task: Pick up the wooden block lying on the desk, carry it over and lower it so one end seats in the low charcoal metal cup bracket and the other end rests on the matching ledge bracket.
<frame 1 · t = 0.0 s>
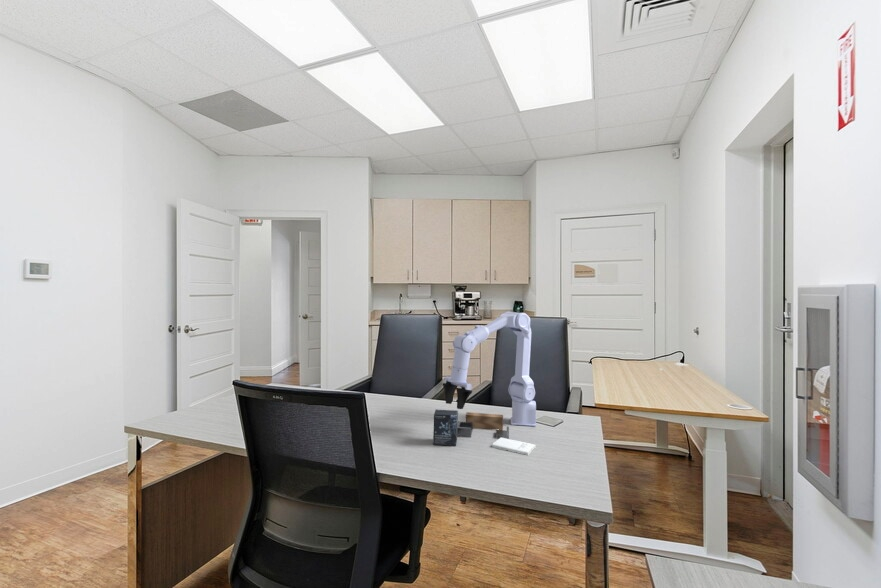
hand: (454, 406, 148), 11 cm above the table, tool pointing down, fingers open, 7 cm apart
external hard drive: (513, 449, 138), on the table
wooden block: (484, 427, 157), on the table
ledge bracket: (502, 435, 148), on the table
box: (445, 443, 141), on the table
cup bracket: (464, 433, 151), on the table
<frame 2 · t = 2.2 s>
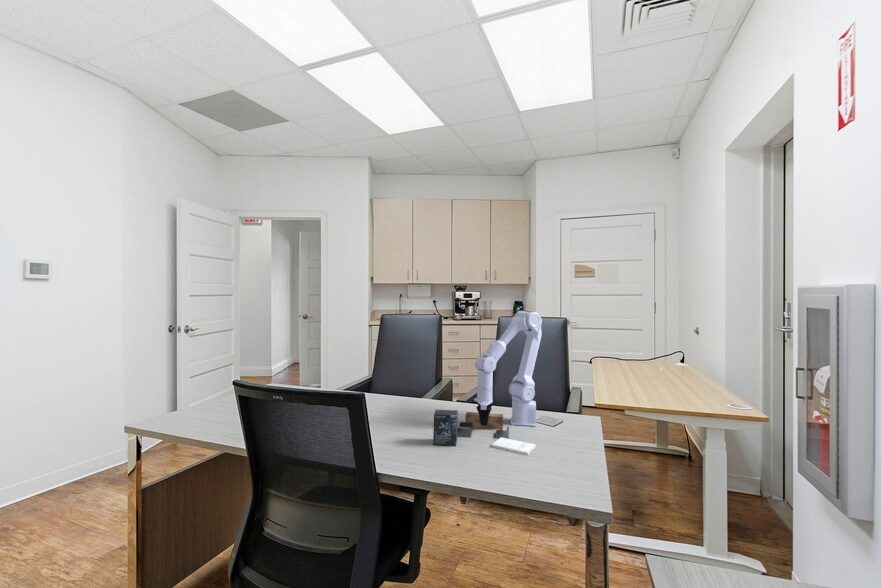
hand: (484, 423, 157), 1 cm above the table, tool pointing down, fingers closed on wooden block, 3 cm apart
wooden block: (484, 427, 157), on the table, touching gripper
everything else where it was.
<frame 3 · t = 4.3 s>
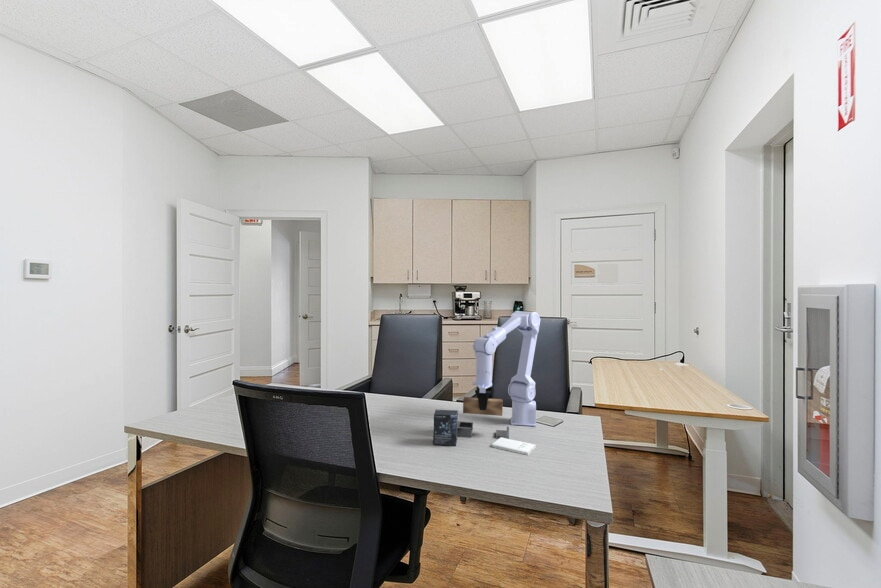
hand: (483, 408, 150), 9 cm above the table, tool pointing down, fingers closed on wooden block, 3 cm apart
wooden block: (482, 413, 150), point 8 cm above the table, touching gripper
everything else where it was.
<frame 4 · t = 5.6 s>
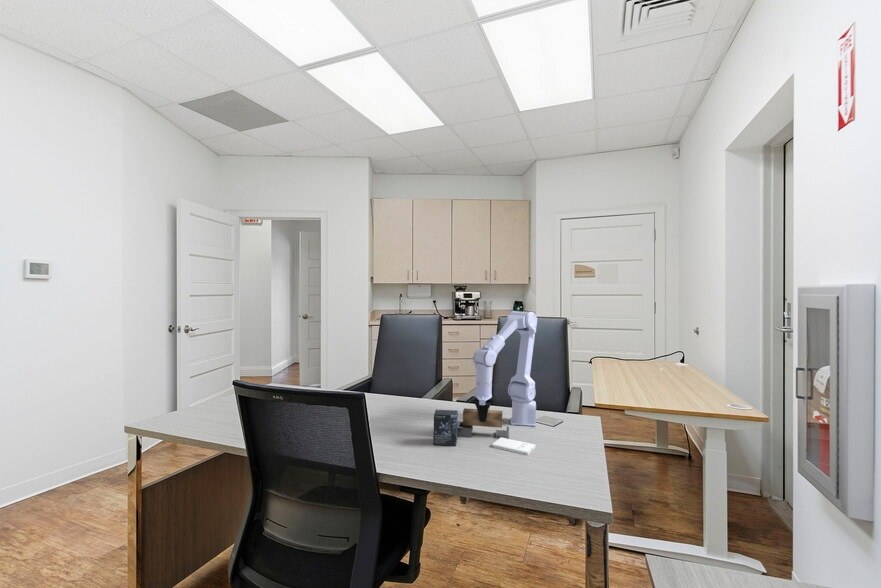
hand: (483, 419, 149), 5 cm above the table, tool pointing down, fingers closed on wooden block, 3 cm apart
wooden block: (482, 424, 150), point 4 cm above the table, touching gripper
everything else where it was.
when the fingers open (3 cm above the table, at t = 6.5 s): wooden block stays where it is, resting on cup bracket, ledge bracket.
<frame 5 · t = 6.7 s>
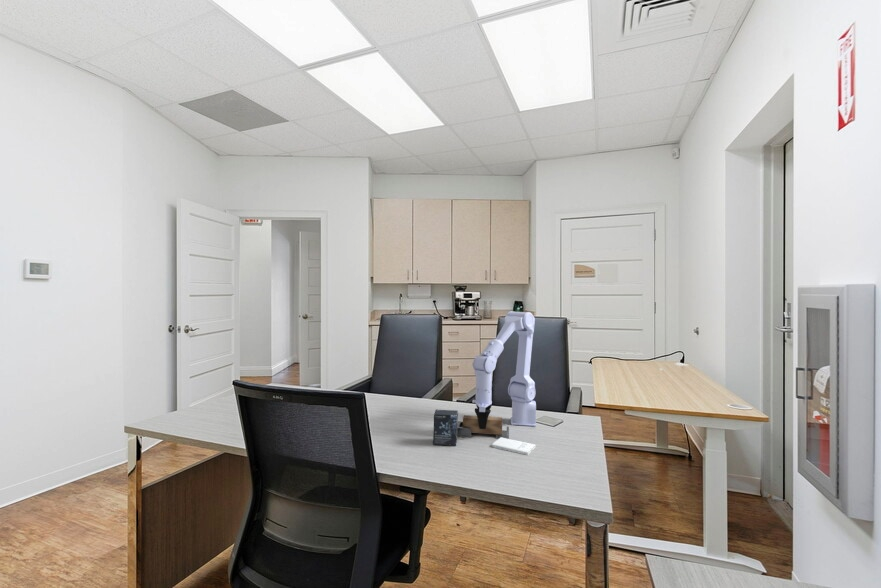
hand: (483, 426, 150), 3 cm above the table, tool pointing down, fingers open, 5 cm apart
wooden block: (482, 431, 150), point 1 cm above the table, touching cup bracket, ledge bracket
everything else where it was.
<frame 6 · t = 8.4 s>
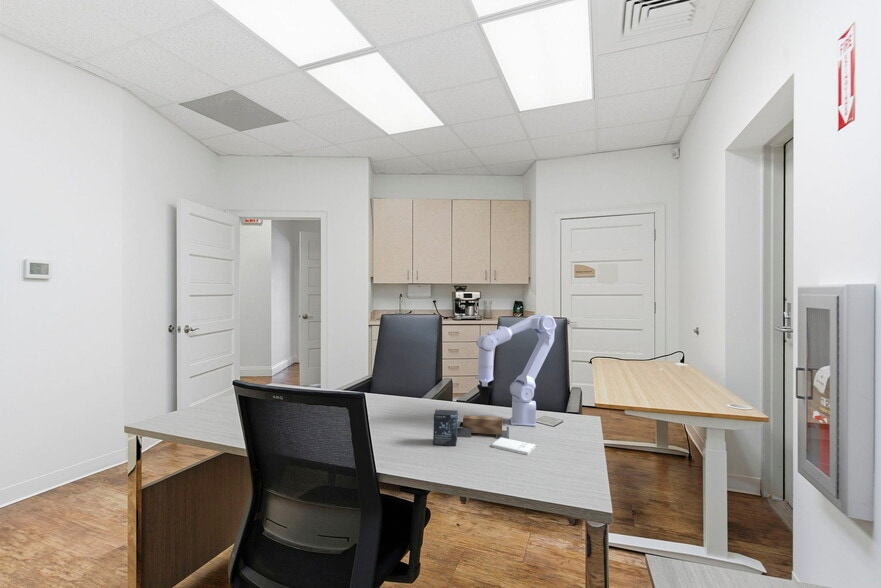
hand: (485, 400, 160), 9 cm above the table, tool pointing down, fingers open, 7 cm apart
nothing on the table moved.
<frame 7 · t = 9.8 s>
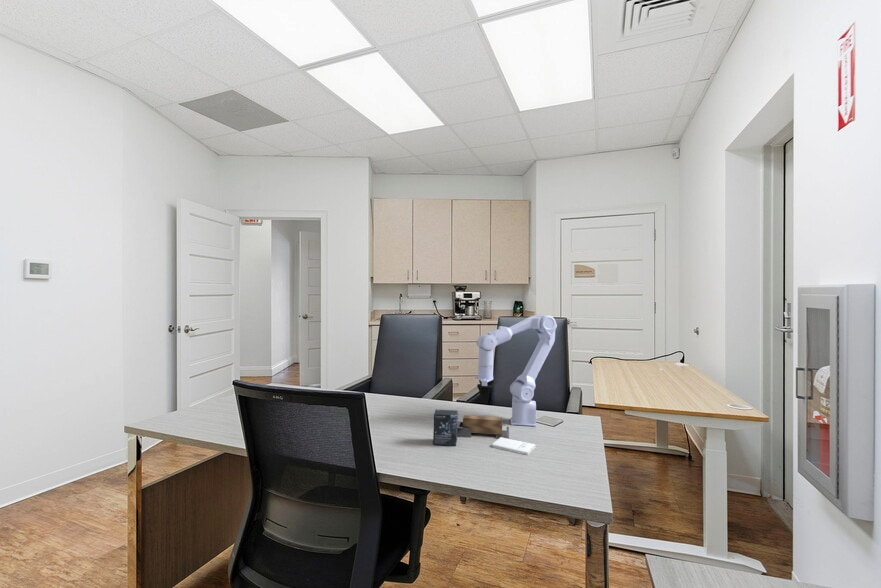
hand: (485, 400, 160), 9 cm above the table, tool pointing down, fingers open, 7 cm apart
nothing on the table moved.
at the end: wooden block 0.1 cm from the target spot, point 1.0 cm above the table; wooden block tilted 0°; the gripper is holding nothing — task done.
